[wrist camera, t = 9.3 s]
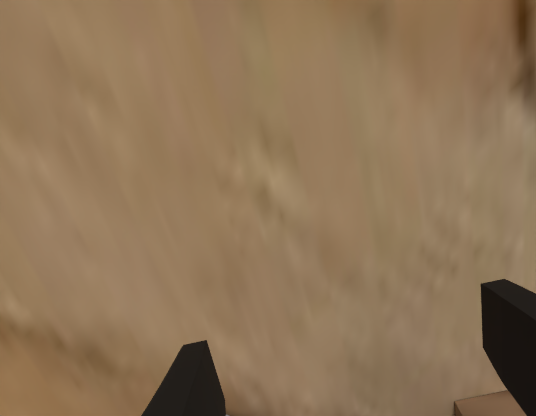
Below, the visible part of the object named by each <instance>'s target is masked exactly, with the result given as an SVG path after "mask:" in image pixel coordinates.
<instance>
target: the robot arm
mask: <svg viewBox="0 0 536 416" xmlns="http://www.w3.org/2000/svg"><path fill="white" fill-rule="evenodd" d="M481 304H482V334H483V348H484V350H485V352H486V354H487V356H488V358H489V359H490V361H491V363H492V365H493V367H494V369H495V370H496V372H497V374H498V375H499V377H500V379H501V381H502V382H503V384H504V385H505V387H506V388H507V389H508V391H509V392H510V394H511V395H512V396H513V398H514V399H515V400H516V402H517V403H518V404H519V406H520V407H521V409H522V410H523V411H524V413H525V414H526V415H527V416H536V294H535V293H533V292H531V291H529V290H527V289H525V288H523V287H521V286H519V285H517V284H515V283H513V282H510V281H508V280H506V279H502V280H497V281H492V282H487V283H482V284H481ZM141 416H228V415H226V411H225V398H224V395H223V392H222V389H221V385H220V382H219V379H218V376H217V373H216V369H215V366H214V363H213V360H212V356H211V353H210V350H209V347H208V343H207V340H205V341H200V342H196V343H191V344H186V345H183V347H182V348H181V350H180V351H179V353H178V355H177V357H176V358H175V360H174V362H173V364H172V366H171V367H170V369H169V371H168V373H167V374H166V376H165V378H164V380H163V381H162V383H161V385H160V386H159V388H158V390H157V391H156V393H155V395H154V396H153V398H152V400H151V401H150V403H149V404H148V406H147V408H146V409H145V411H144V412H143V414H142V415H141Z"/></svg>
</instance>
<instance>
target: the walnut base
mask: <svg viewBox="0 0 536 416" xmlns="http://www.w3.org/2000/svg"><path fill="white" fill-rule="evenodd" d="M455 414H456V416H527V415H526V414H525V413H524V411H523V410H522V409H521V407H520V406H519V404H518V403H517V402H516V400H515V399H514V398H513V396H512V395H511V394H510V392H509V391H503V392H498V393H493V394H488V395H483V396H479V397H474V398H469V399H464V400H459V401H455Z"/></svg>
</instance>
